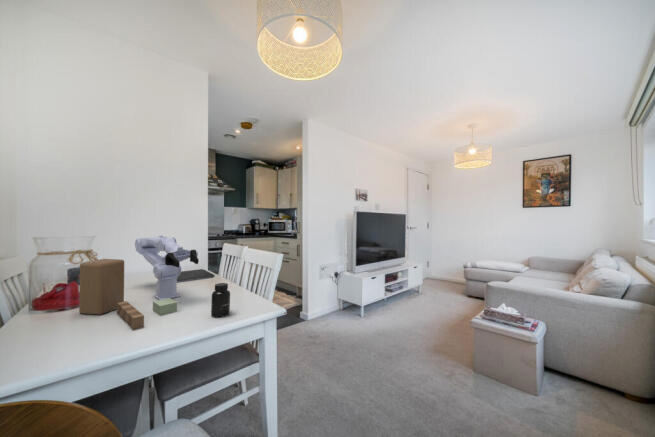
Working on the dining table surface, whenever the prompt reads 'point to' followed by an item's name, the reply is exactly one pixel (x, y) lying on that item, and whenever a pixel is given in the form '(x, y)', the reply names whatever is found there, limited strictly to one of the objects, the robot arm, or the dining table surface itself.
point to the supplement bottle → (220, 300)
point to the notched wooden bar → (130, 315)
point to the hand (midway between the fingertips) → (188, 263)
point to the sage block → (164, 306)
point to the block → (101, 286)
